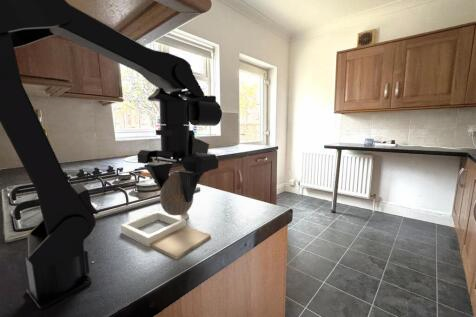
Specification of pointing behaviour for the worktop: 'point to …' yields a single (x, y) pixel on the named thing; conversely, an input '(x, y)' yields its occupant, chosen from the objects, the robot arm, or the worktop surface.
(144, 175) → the orange flat bar
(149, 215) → the socket
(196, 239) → the mat
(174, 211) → the vase
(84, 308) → the worktop surface
